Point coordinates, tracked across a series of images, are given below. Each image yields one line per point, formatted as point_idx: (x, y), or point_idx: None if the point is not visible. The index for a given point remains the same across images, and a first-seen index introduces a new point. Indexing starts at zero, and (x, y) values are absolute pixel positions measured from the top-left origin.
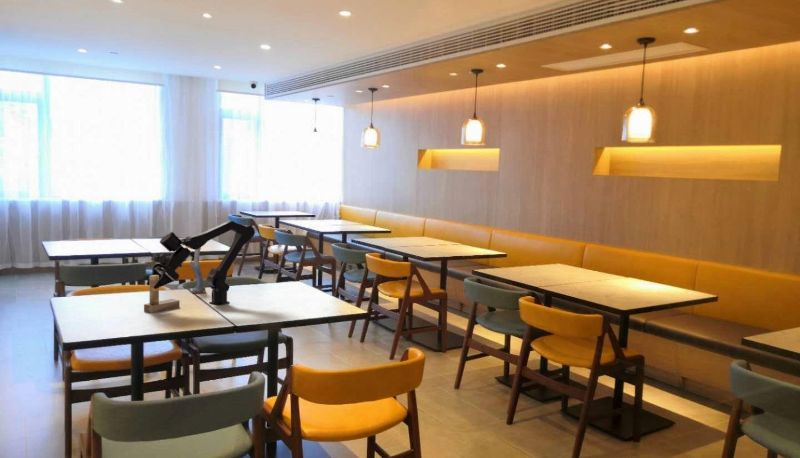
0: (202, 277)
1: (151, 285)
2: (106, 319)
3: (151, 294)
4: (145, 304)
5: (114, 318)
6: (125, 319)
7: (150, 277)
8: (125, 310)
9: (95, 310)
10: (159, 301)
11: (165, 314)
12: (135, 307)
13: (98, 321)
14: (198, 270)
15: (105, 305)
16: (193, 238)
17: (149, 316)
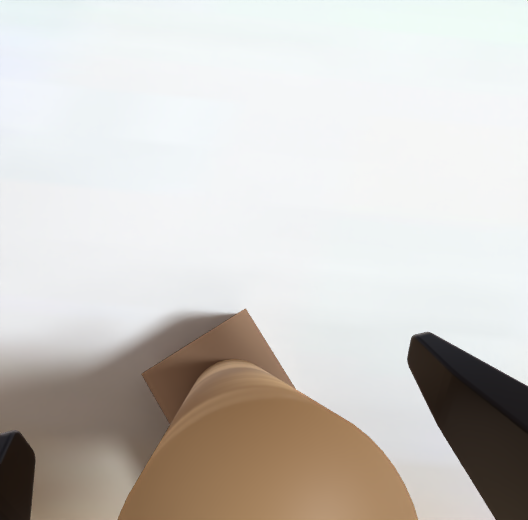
0: None
1: (184, 404)
2: (69, 52)
3: (194, 385)
4: (229, 320)
5: (77, 99)
6: (7, 161)
7: (194, 415)
8: (317, 190)
9: (372, 24)
10: None
11: (47, 481)
12: (401, 265)
13: (30, 5)
14: None
15: (509, 90)
16: None
17: (29, 338)
